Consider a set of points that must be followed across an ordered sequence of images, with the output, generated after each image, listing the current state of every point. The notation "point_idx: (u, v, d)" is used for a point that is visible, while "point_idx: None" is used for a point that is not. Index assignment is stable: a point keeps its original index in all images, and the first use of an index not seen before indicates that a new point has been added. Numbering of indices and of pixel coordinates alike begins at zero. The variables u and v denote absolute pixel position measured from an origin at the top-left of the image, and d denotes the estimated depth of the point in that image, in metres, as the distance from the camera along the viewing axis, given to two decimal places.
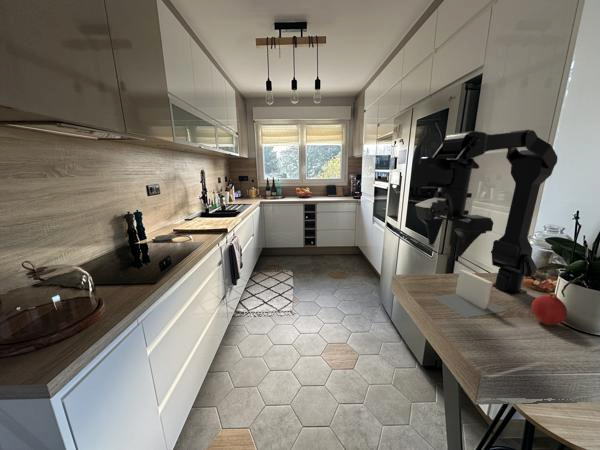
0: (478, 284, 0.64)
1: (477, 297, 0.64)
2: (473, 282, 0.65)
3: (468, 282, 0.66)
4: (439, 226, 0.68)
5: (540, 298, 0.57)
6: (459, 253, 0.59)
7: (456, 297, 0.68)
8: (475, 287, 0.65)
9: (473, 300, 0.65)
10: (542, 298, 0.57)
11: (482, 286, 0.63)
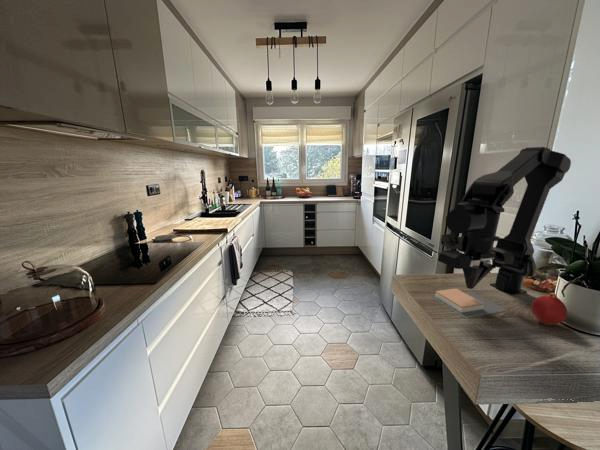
0: None
1: None
2: None
3: None
4: (481, 273, 0.63)
5: (540, 298, 0.57)
6: (467, 284, 0.65)
7: None
8: None
9: None
10: (542, 298, 0.57)
11: None
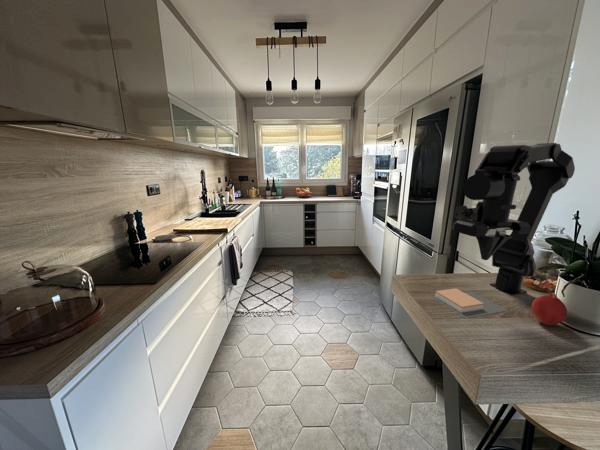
0: None
1: None
2: None
3: None
4: (497, 243, 0.62)
5: (540, 298, 0.57)
6: (482, 256, 0.65)
7: None
8: None
9: None
10: (542, 298, 0.57)
11: None
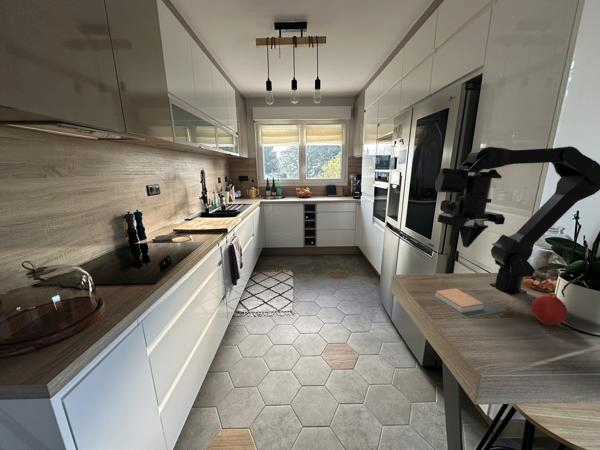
0: None
1: None
2: None
3: None
4: (475, 232, 0.72)
5: (540, 298, 0.57)
6: (464, 244, 0.74)
7: None
8: None
9: None
10: (542, 298, 0.57)
11: None
